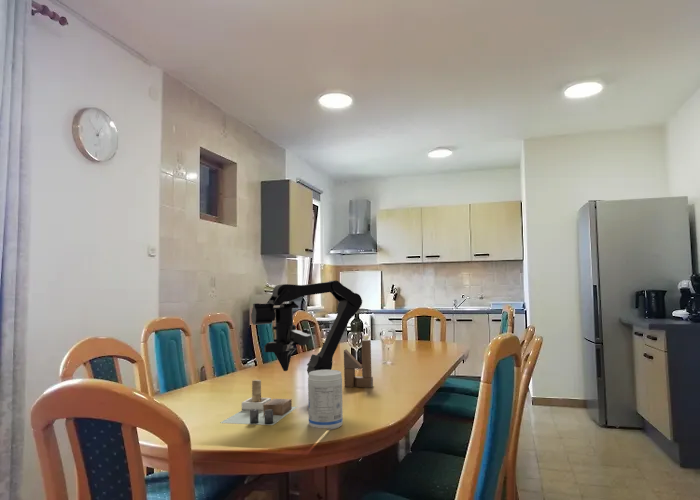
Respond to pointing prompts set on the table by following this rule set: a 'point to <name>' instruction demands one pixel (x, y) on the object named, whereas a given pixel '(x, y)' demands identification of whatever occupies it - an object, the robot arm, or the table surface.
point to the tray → (254, 404)
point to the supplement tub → (325, 399)
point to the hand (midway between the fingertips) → (285, 370)
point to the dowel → (256, 390)
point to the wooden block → (358, 367)
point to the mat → (244, 418)
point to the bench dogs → (255, 416)
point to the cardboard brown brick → (279, 406)
